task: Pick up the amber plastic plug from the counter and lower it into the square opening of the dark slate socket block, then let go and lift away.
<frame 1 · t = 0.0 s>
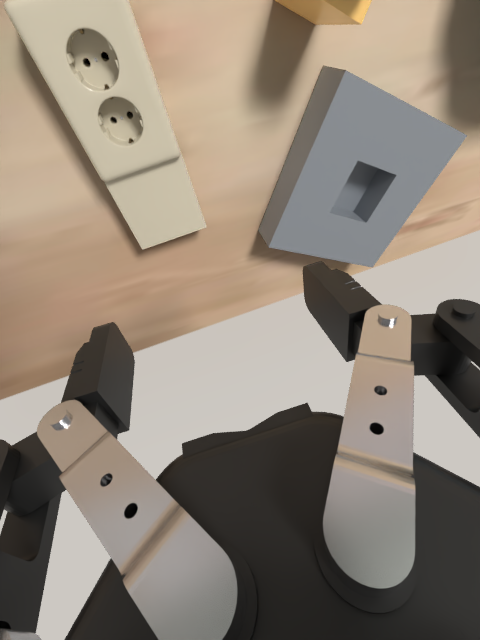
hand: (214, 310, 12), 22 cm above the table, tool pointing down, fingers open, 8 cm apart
electrical outlet: (132, 135, 26), on the table
socket: (344, 180, 34), on the table
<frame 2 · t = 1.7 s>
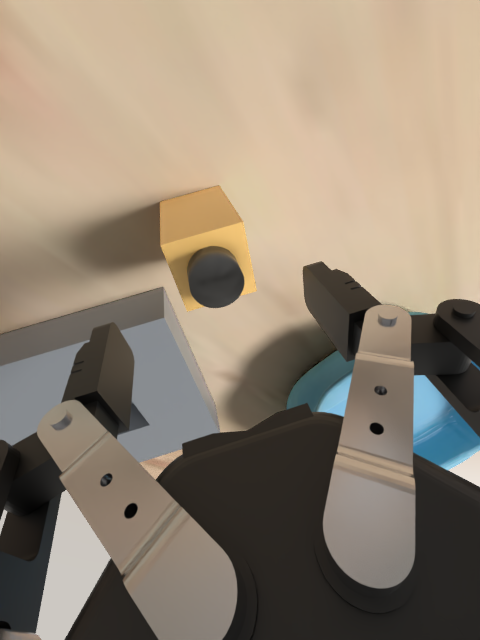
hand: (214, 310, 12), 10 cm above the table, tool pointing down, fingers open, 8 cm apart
casserole dish: (380, 391, 40), on the table
plug: (198, 223, 20), on the table
socket: (111, 381, 27), on the table
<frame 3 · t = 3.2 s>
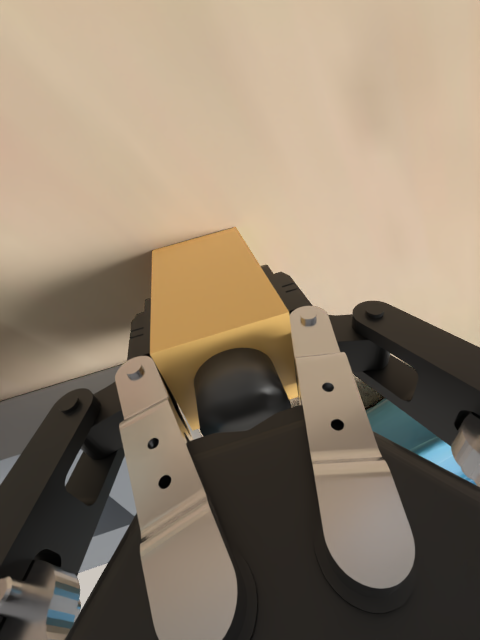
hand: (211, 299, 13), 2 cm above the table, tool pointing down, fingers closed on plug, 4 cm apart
casserole dish: (411, 443, 34), on the table
plug: (205, 275, 15), on the table, touching gripper
socket: (92, 460, 22), on the table
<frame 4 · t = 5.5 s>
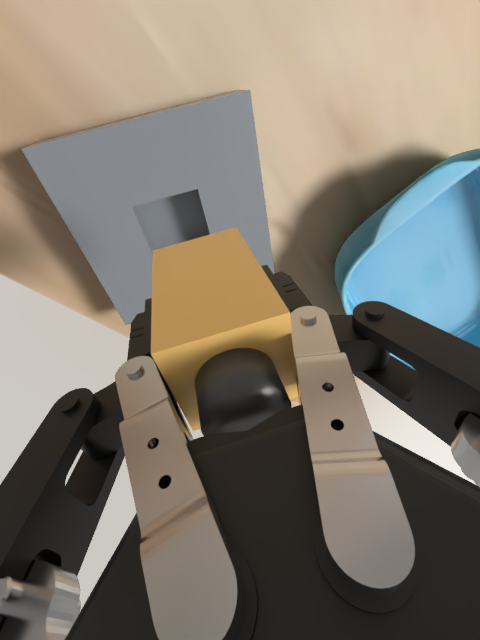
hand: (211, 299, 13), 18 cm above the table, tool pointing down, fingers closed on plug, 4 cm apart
casserole dish: (418, 276, 40), on the table
plug: (206, 275, 15), point 16 cm above the table, touching gripper
socket: (174, 214, 28), on the table
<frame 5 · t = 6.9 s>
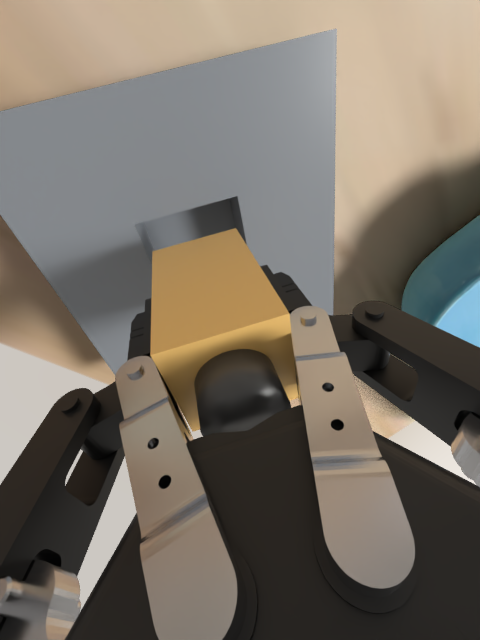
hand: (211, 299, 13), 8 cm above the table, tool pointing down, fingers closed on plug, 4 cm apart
plug: (205, 276, 15), point 6 cm above the table, touching gripper
socket: (193, 232, 20), on the table
when the fingers open (5 cm above the table, at t = 7.8 s): plug drops 2 cm, resting on socket.
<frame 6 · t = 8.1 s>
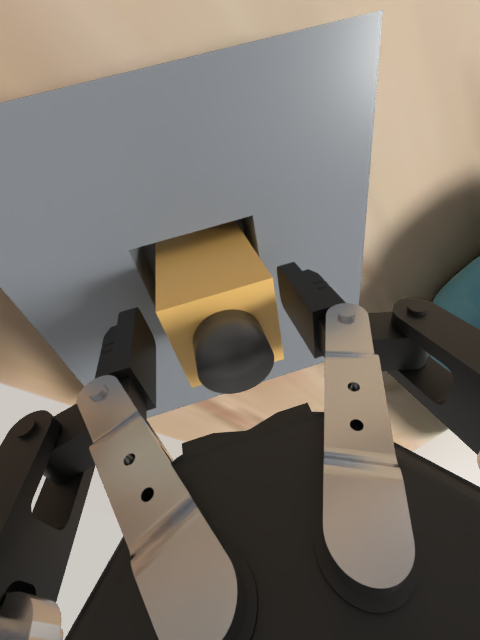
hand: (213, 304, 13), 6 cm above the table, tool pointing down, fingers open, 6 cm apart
plug: (203, 258, 16), point 1 cm above the table, touching socket
socket: (198, 252, 17), on the table
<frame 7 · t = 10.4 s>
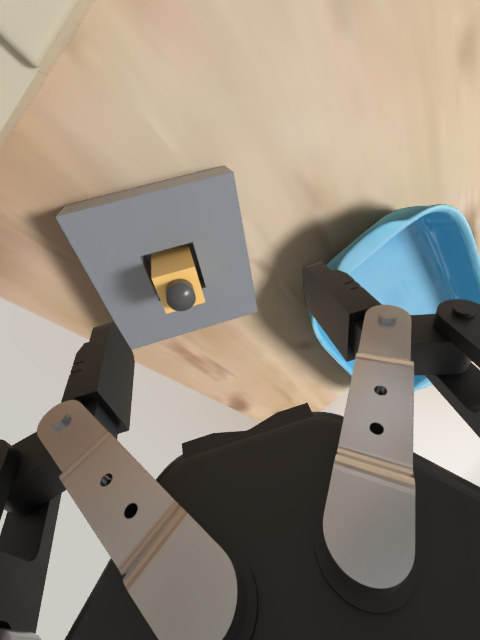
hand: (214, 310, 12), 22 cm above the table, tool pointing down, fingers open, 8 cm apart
electrical outlet: (12, 5, 21), on the table
casserole dish: (382, 302, 47), on the table
plug: (174, 261, 33), point 1 cm above the table, touching socket
socket: (172, 257, 34), on the table
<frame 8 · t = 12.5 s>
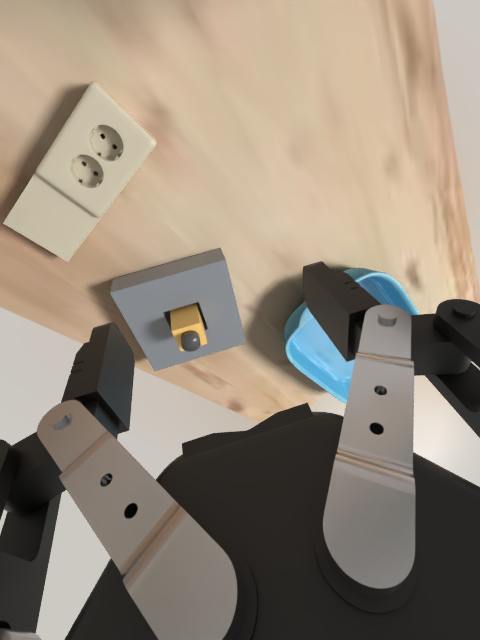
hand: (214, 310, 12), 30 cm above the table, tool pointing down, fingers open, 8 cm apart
electrical outlet: (84, 177, 34), on the table
casserole dish: (347, 328, 60), on the table
plug: (186, 309, 47), point 1 cm above the table, touching socket
socket: (184, 306, 47), on the table
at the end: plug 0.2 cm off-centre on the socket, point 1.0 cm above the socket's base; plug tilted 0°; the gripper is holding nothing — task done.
